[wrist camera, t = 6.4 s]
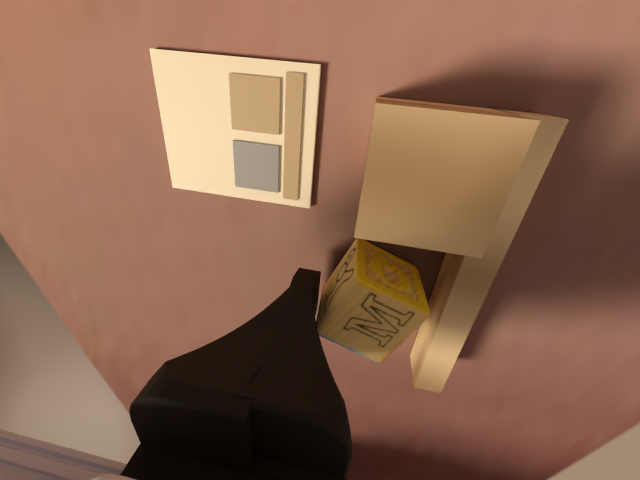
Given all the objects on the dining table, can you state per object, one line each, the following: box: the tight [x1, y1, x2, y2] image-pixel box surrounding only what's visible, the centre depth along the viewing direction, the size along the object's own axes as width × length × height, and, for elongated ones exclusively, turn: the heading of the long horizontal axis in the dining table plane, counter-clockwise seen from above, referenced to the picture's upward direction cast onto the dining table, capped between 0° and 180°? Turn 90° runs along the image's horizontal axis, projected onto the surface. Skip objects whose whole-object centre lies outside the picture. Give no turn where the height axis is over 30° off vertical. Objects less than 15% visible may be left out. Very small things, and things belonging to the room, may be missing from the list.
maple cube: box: [354, 97, 540, 258], centre depth 9 cm, size 4×4×4 cm
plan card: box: [149, 48, 321, 208], centre depth 11 cm, size 5×6×1 cm
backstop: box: [410, 109, 569, 393], centre depth 11 cm, size 12×1×2 cm, turn 175°
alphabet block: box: [316, 238, 430, 363], centre depth 12 cm, size 3×3×3 cm
